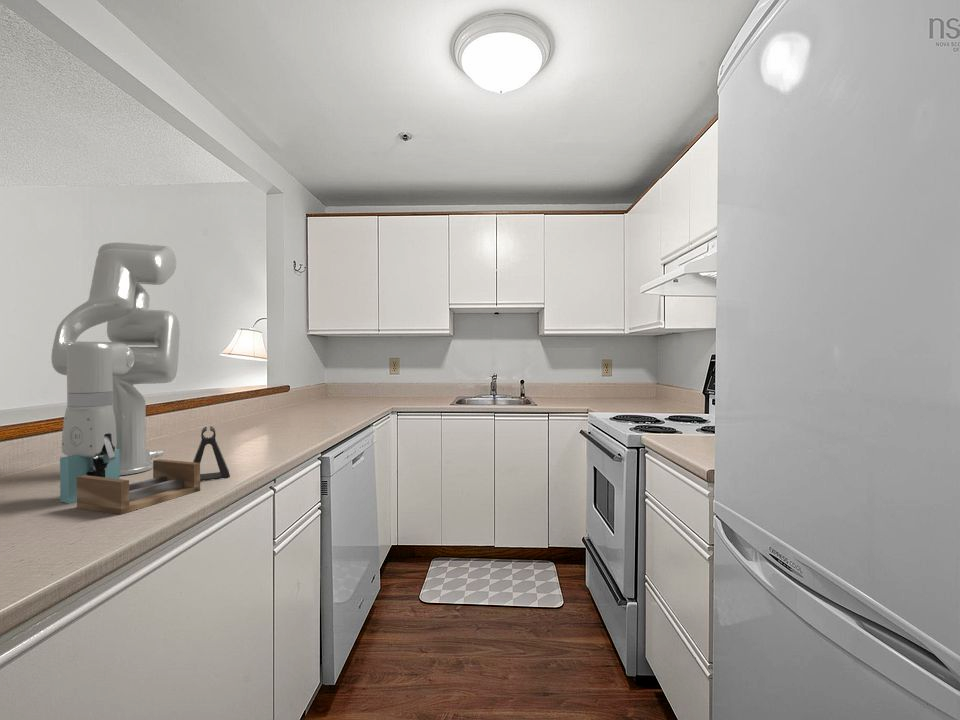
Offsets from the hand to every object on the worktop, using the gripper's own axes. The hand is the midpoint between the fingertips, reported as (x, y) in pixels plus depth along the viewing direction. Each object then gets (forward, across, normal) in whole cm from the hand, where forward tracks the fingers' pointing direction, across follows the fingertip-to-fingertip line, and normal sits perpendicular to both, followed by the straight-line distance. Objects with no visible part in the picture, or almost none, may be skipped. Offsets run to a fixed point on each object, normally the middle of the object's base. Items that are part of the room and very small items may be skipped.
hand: (91, 488), depth 102 cm
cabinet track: (+2, +12, +2) cm, 12 cm away
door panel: (+2, 0, 0) cm, 2 cm away
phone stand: (+2, +10, +20) cm, 22 cm away
